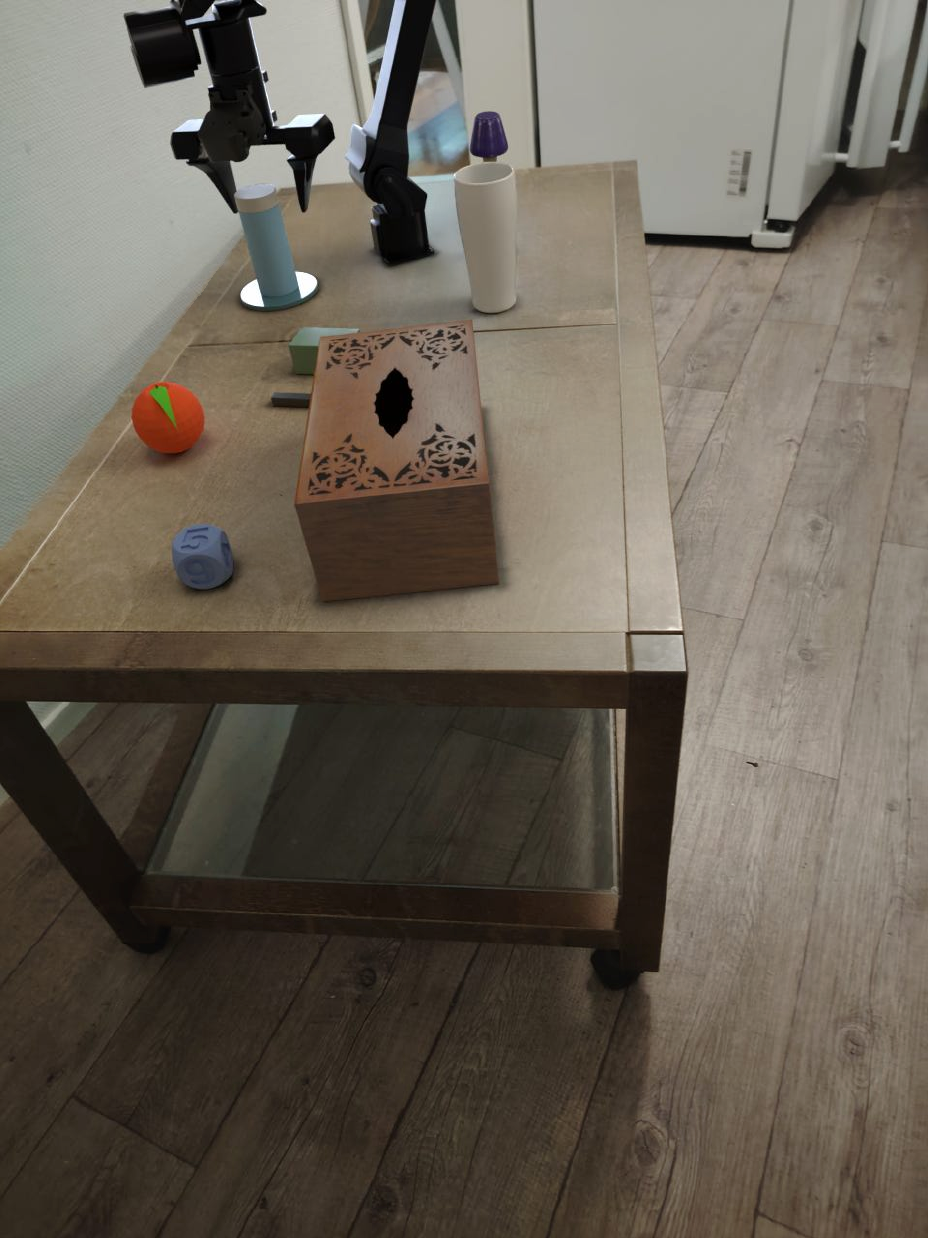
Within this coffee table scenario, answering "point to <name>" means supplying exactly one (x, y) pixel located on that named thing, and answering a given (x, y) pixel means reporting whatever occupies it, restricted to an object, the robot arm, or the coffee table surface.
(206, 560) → the decorative dice
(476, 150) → the toy lamp
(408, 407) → the tissue box cover
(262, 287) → the plastic bottle
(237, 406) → the coffee table surface
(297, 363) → the cradle
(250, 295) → the coaster
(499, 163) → the drinking glass
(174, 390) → the clementine
